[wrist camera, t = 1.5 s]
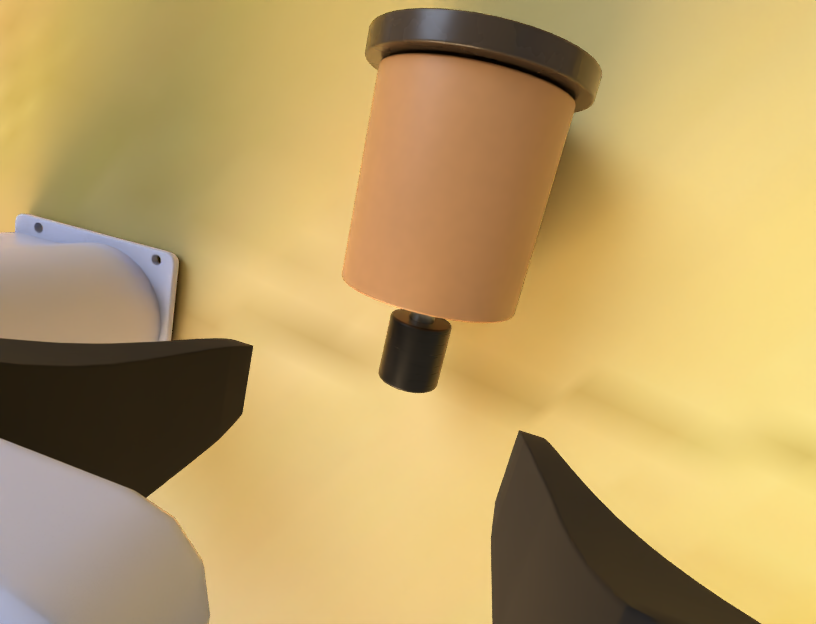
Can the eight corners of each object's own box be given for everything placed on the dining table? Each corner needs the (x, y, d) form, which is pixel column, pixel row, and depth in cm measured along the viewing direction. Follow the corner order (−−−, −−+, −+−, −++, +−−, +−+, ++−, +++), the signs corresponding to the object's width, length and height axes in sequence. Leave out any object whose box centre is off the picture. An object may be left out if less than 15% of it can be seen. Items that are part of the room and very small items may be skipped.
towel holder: (333, -13, 12) (275, 390, 15) (633, 37, 11) (500, 459, 14) (398, 70, 19) (349, 328, 22) (580, 104, 18) (500, 371, 21)
